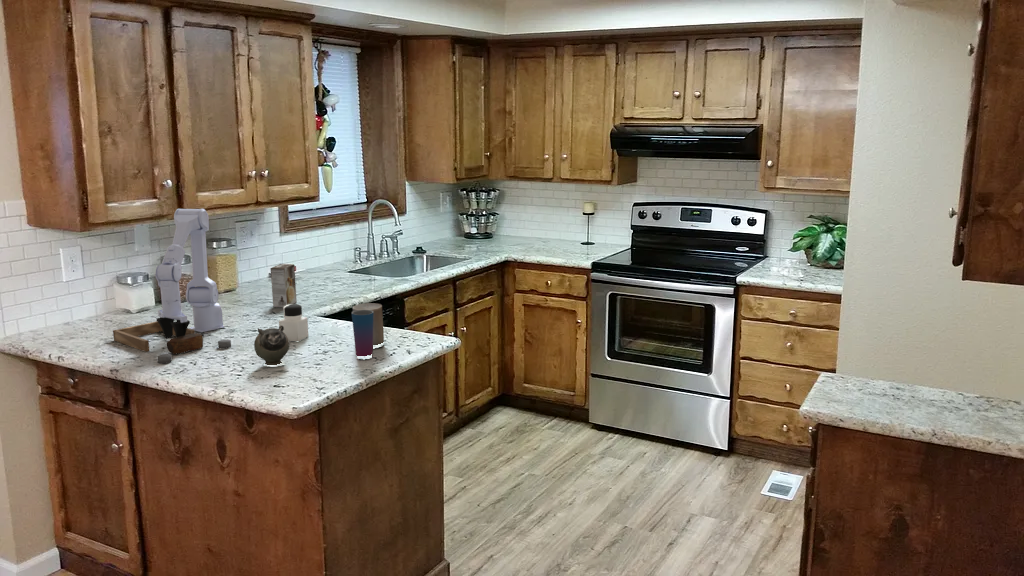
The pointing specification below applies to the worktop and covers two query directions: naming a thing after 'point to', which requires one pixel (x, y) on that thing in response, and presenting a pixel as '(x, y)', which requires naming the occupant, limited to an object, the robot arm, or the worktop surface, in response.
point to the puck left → (164, 358)
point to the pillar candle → (374, 320)
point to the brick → (185, 343)
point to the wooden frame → (131, 333)
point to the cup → (363, 331)
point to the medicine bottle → (294, 323)
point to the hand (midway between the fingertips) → (174, 339)
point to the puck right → (224, 343)
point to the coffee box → (283, 285)
